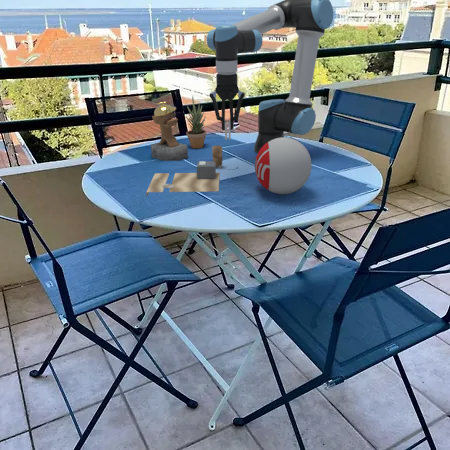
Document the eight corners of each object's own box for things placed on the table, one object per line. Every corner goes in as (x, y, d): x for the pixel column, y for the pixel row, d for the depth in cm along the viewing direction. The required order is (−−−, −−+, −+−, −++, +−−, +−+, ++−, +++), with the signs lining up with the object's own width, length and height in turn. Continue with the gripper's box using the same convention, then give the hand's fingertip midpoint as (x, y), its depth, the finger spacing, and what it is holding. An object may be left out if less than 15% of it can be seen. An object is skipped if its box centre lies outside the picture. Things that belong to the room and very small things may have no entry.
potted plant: (189, 143, 223) (186, 92, 212) (208, 144, 222) (206, 92, 211) (185, 149, 214) (182, 96, 203) (204, 150, 213) (202, 96, 202)
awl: (222, 168, 188) (222, 145, 184) (222, 172, 184) (222, 148, 180) (213, 168, 188) (212, 145, 184) (212, 172, 184) (212, 148, 180)
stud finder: (215, 173, 178) (215, 160, 176) (215, 178, 173) (215, 165, 171) (198, 173, 178) (197, 160, 176) (197, 179, 173) (196, 165, 171)
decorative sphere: (253, 182, 173) (254, 131, 164) (305, 182, 172) (309, 130, 163) (255, 203, 155) (256, 146, 146) (313, 202, 154) (317, 146, 145)
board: (219, 176, 180) (219, 172, 179) (218, 195, 162) (218, 191, 161) (155, 176, 180) (154, 173, 180) (146, 196, 162) (146, 192, 162)
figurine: (189, 157, 203) (186, 101, 192) (171, 163, 196) (167, 105, 185) (169, 151, 212) (165, 97, 201) (151, 157, 204) (145, 101, 193)
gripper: (245, 71, 162) (245, 135, 172) (208, 71, 162) (210, 136, 173) (246, 74, 155) (246, 141, 166) (207, 74, 155) (209, 141, 166)
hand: (227, 138), depth 169 cm, fingers closed
